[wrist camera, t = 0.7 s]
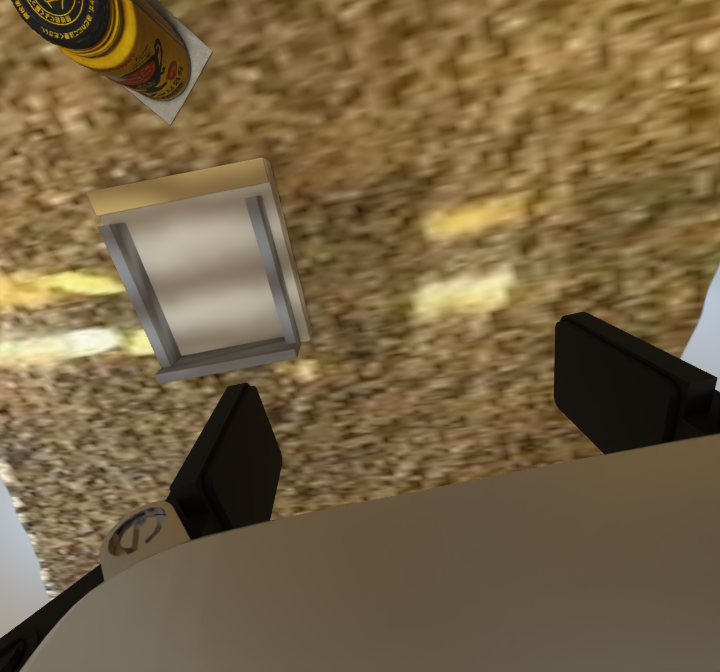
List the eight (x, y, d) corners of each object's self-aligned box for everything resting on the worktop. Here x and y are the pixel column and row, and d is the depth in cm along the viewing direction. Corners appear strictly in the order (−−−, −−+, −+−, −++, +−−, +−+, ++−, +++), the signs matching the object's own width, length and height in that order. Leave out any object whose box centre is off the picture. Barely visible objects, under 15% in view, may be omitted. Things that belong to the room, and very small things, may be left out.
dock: (110, 192, 34) (55, 191, 27) (269, 161, 34) (252, 152, 27) (179, 355, 41) (148, 385, 34) (312, 330, 40) (306, 356, 34)
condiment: (171, 125, 32) (82, 88, 21) (81, 51, 30) (-74, -35, 19) (213, 52, 30) (139, -31, 19) (120, -33, 28) (-25, -185, 17)
